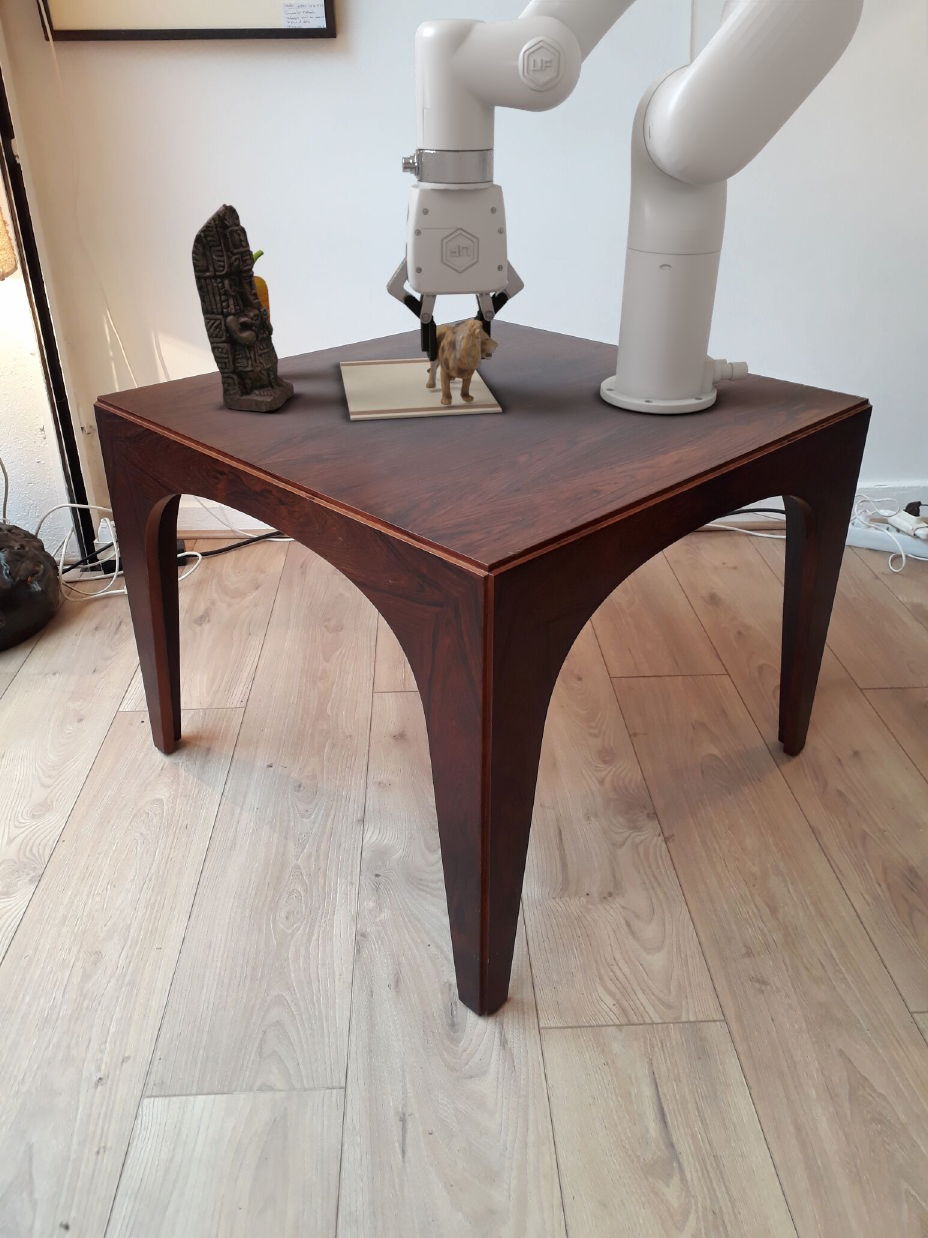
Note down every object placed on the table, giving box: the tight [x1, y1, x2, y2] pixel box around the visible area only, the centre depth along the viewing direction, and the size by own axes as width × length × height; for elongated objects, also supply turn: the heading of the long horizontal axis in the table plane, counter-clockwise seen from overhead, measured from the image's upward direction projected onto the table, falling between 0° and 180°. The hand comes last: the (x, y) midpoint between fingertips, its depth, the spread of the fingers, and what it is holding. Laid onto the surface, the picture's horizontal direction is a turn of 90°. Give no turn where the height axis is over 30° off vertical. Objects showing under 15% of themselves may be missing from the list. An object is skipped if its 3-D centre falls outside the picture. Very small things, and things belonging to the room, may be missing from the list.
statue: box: [191, 203, 295, 412], centre depth 94 cm, size 7×7×20 cm
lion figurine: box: [426, 318, 499, 405], centre depth 98 cm, size 15×5×9 cm, turn 23°
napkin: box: [339, 357, 503, 422], centre depth 105 cm, size 16×22×1 cm
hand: (455, 355), depth 98 cm, fingers closed on lion figurine, 4 cm apart
